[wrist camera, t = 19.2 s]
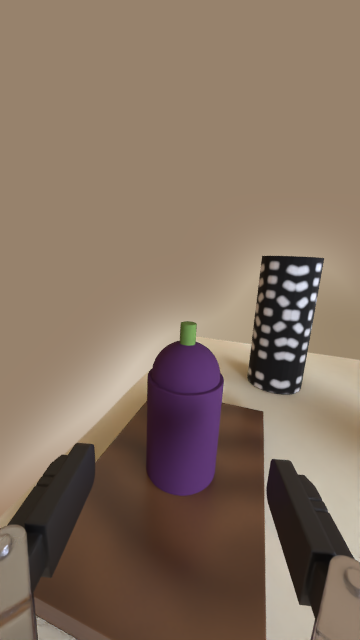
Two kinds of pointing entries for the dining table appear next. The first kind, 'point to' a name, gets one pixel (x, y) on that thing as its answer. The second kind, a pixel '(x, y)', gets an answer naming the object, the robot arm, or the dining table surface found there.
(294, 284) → the spotted tube
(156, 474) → the eggplant
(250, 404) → the dining table surface
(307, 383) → the dining table surface
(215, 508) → the cutting board
